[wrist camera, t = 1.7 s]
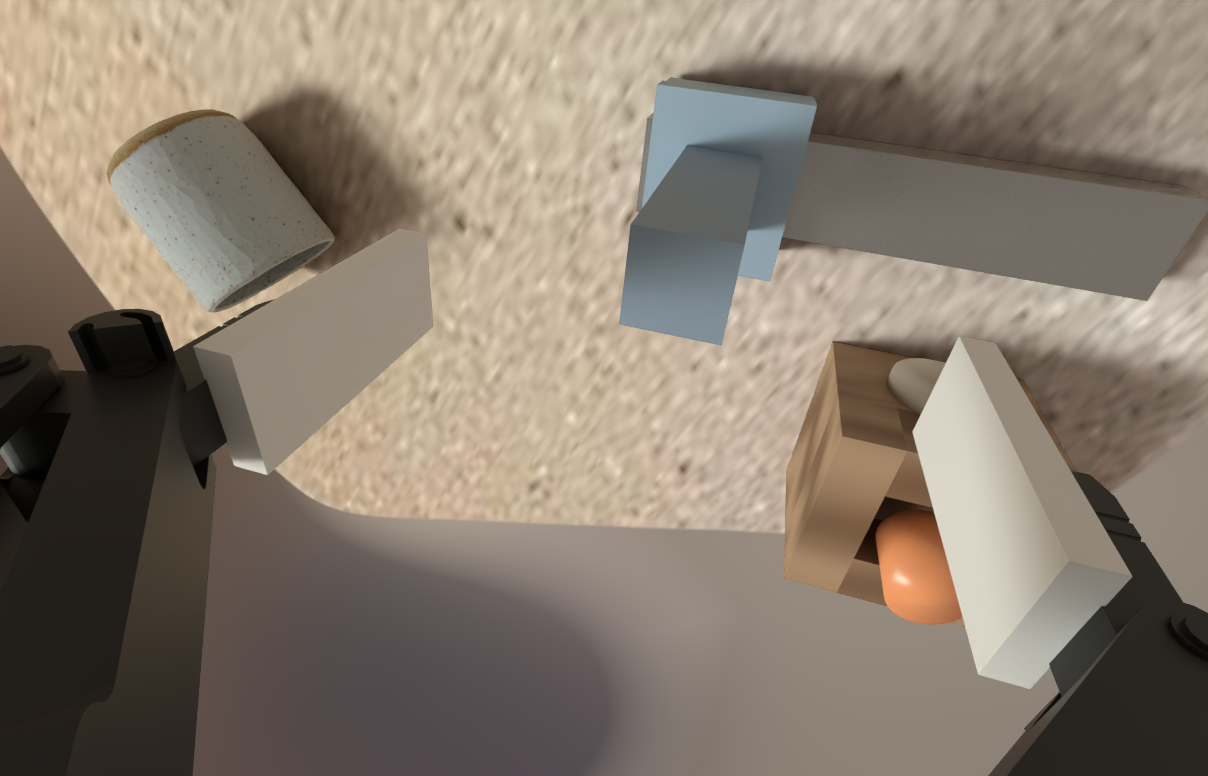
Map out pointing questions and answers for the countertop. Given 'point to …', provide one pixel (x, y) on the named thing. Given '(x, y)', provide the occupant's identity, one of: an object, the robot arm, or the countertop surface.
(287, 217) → the ceramic mug
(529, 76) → the countertop surface
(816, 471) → the wooden box
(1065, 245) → the rail
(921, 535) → the orange rounded cylinder
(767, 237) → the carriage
